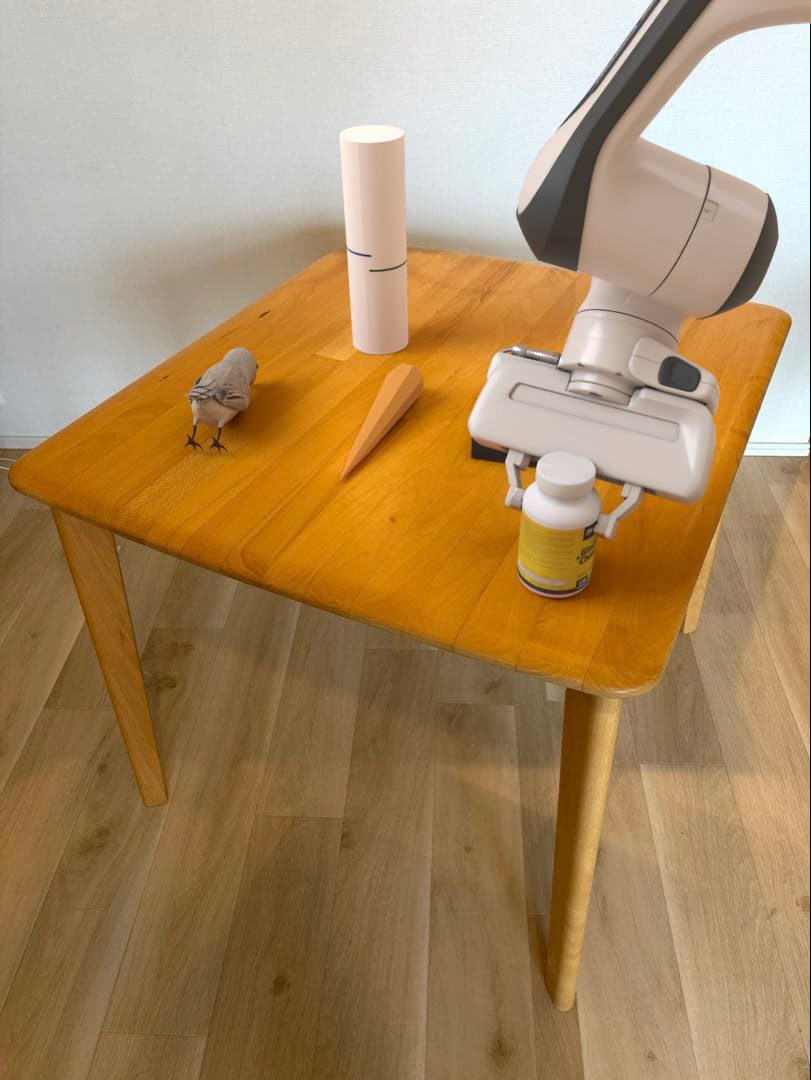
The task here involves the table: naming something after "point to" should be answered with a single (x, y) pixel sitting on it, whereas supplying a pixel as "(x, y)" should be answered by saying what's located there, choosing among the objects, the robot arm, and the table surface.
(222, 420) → the decorative bird
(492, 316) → the table surface
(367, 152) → the cylindrical container
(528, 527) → the pill bottle
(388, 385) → the carrot
